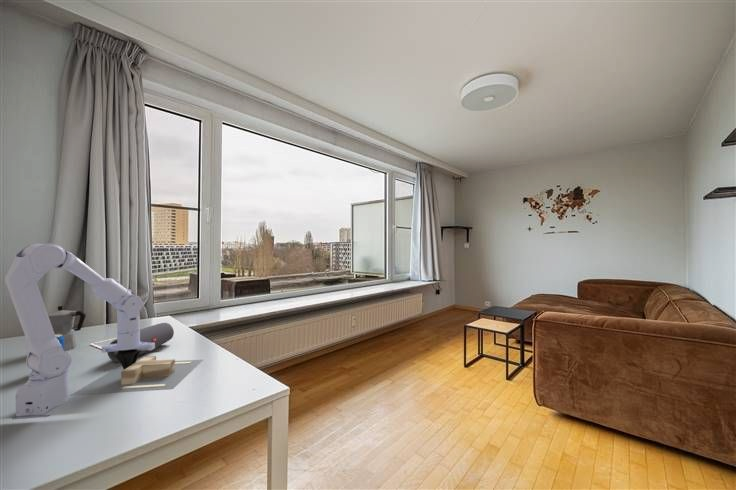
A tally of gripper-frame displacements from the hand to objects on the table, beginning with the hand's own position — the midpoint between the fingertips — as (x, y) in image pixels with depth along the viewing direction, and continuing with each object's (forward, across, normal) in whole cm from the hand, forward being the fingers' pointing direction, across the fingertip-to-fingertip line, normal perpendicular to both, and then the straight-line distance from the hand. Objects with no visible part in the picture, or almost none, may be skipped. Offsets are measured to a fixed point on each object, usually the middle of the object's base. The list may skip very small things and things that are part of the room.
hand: (129, 372), depth 96 cm
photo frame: (+3, +26, -40) cm, 48 cm away
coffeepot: (+2, +44, -33) cm, 56 cm away
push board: (+2, -5, 0) cm, 5 cm away
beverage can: (+2, +30, -10) cm, 32 cm away
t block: (+1, -7, 0) cm, 7 cm away
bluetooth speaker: (+2, +8, -23) cm, 25 cm away
